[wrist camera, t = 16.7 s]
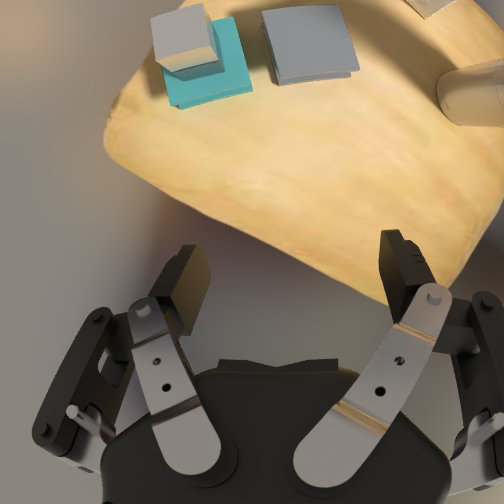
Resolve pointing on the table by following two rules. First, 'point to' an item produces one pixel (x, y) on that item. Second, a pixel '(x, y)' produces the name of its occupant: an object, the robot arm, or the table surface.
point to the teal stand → (217, 84)
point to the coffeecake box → (429, 6)
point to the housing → (187, 43)
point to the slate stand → (309, 43)
